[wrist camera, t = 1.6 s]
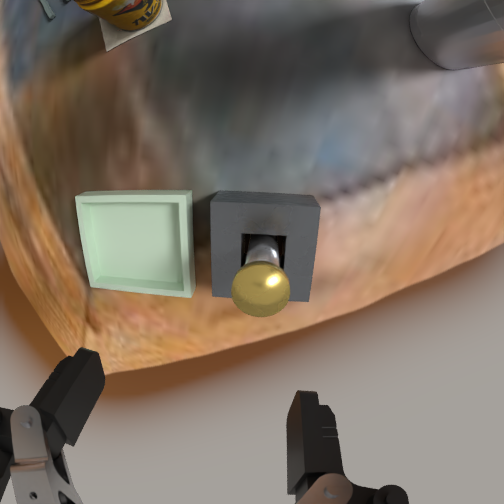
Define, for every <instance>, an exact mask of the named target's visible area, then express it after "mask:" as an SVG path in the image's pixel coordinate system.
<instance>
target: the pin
mask: <svg viewBox="0 0 504 504" xmlns="http://www.w3.org/2000/svg"><path fill="white" fill-rule="evenodd" d="M231 295H232V299H233V301H234V303H235V304H236V306H237V307H238V308H239V309H240V310H241V311H243V312H244V313H246V314H248V315H251V316H255V317H267V316H271V315H274V314H276V313H278V312H279V311H281V310H282V309H283V308H284V307H285V306H286V304H287V303H288V301H289V298H290V285H289V279H288V277H287V275H286V273H285V272H284V270H283V269H282V268H281V267H279V250H278V235H266V234H251V236H250V241H249V247H248V252H247V258H246V263H245V265H244V266H242V267H241V268H240V269H239V270H238V271H237V273H236V274H235V276H234V279H233V283H232V288H231Z"/></svg>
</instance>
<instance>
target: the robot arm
mask: <svg viewBox="0 0 504 504" xmlns="http://www.w3.org/2000/svg"><path fill="white" fill-rule="evenodd" d="M410 28H411V32H412V35H413V38H414V39H415V41H416V43H417V45H418V46H419V48H420V49H421V50H422V52H423V53H424V54H425V55H426V56H427V57H428V58H429V59H430V60H432V61H433V62H434V63H435V64H437V65H439V66H441V67H443V68H446V69H450V70H457V69H463V68H468V67H469V68H475V67H481V66H486V65H493V64H499V63H504V0H424V1H423V2H421V3H420V4H419V5H417V6H416V7H414V9H413V10H412V12H411V15H410ZM104 385H105V375H104V371H103V367H102V364H101V360H100V356H99V353H98V352H96V351H92V350H89V349H86V348H83V347H81V348H79V349H78V351H77V352H76V353H75V355H74V356H73V357H72V356H68V357H66V358H65V359H63V360H62V361H60V363H59V364H58V365H57V366H56V368H55V369H54V372H52V373H51V375H50V376H49V379H47V380H46V382H45V383H44V385H43V386H42V388H41V389H40V391H39V392H38V393H37V395H36V396H35V398H34V400H33V401H32V402H31V404H30V405H29V406H28V405H23V406H20V407H18V408H16V409H15V410H10V409H5V408H1V407H0V502H1V499H2V496H3V494H4V491H5V489H6V486H7V484H8V481H9V479H10V476H11V478H12V483H13V488H14V492H15V497H16V501H17V504H83V503H82V500H81V498H80V497H79V495H78V493H77V492H76V490H75V488H74V485H73V482H72V479H71V476H70V473H69V469H68V466H67V462H66V459H65V455H64V452H63V449H62V448H63V446H64V444H65V443H67V444H69V445H71V446H74V445H75V443H76V441H77V439H78V437H79V435H80V433H81V431H82V429H83V427H84V425H85V423H86V421H87V419H88V417H89V415H90V413H91V411H92V409H93V408H94V406H95V404H96V401H97V400H98V398H99V396H100V394H101V392H102V391H103V388H104ZM286 426H287V427H286V428H287V487H288V488H287V493H288V494H290V495H291V494H292V495H293V494H294V495H296V503H295V504H409V501H408V496H407V494H406V492H405V491H404V490H403V489H402V488H401V487H399V486H396V485H386V486H383V487H382V488H380V489H379V490H378V489H372V488H367V487H361V486H358V485H355V484H353V483H352V482H350V481H349V480H348V479H347V477H346V476H345V474H344V471H343V466H342V459H341V452H340V445H339V439H338V432H337V429H336V421H335V415H334V414H333V412H332V411H331V409H330V408H329V406H328V405H319V400H318V394H317V392H314V391H299V390H298V391H297V392H296V395H295V397H294V399H293V402H292V405H291V407H290V410H289V412H288V416H287V425H286Z"/></svg>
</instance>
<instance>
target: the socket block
mask: <svg viewBox="0 0 504 504" xmlns="http://www.w3.org/2000/svg"><path fill="white" fill-rule="evenodd" d="M320 209H321V207H320V206H319V204H318V202H317V201H316V199H315V198H314V196H312V195H298V194H282V193H264V192H242V191H219V192H218V193H217V194H216V195H215V197H214V198H213V199H212V200H211V202H210V214H211V270H212V296H213V297H227V298H232V295H231V288H232V283H233V279H234V276H235V274H236V273H237V271H238V270H239V269H240V268H241V267H242V266H244V265H245V263H246V258H247V253H245V233H248V234H266V235H283V244H282V255H279V267H281V268H282V269H283V270H284V272H285V273H286V275H287V277H288V279H289V285H290V298H289V301H300V302H309V296H310V289H311V283H312V275H313V268H314V261H315V253H316V245H317V236H318V228H319V219H320Z"/></svg>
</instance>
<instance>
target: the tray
mask: <svg viewBox="0 0 504 504" xmlns="http://www.w3.org/2000/svg"><path fill="white" fill-rule="evenodd" d="M75 200H76V208H77V216H78V223H79V229H80V236H81V242H82V247H83V253H84V258H85V263H86V268H87V273H88V278H89V282H90V286H91V287H95V288H103V289H111V290H120V291H128V292H137V293H146V294H156V295H166V296H177V297H188V298H191V297H192V295H193V293H194V290H195V288H196V280H195V261H194V239H193V208H192V190H116V191H87V192H84V193H82V194H79V195H77V196H75Z"/></svg>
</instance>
